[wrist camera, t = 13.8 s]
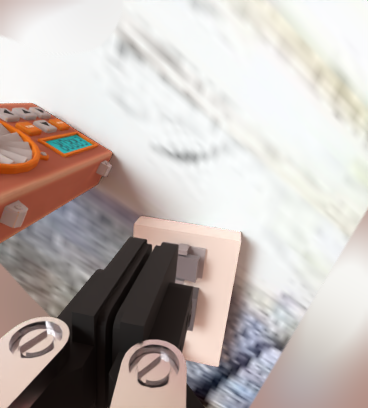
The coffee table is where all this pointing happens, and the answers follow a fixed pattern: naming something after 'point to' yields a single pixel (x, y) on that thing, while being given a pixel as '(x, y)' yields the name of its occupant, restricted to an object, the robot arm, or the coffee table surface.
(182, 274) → the rocker switch
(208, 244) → the switch board
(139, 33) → the coffee table surface
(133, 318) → the robot arm
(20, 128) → the control panel
